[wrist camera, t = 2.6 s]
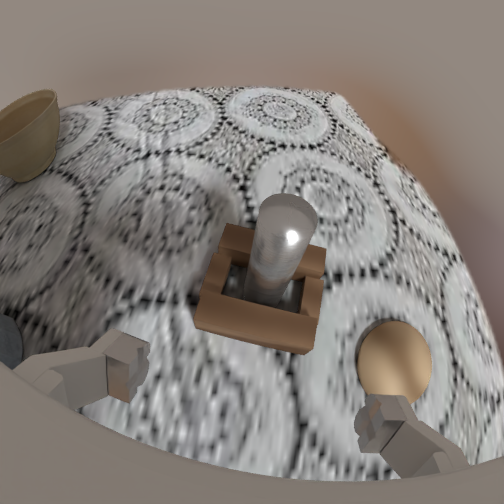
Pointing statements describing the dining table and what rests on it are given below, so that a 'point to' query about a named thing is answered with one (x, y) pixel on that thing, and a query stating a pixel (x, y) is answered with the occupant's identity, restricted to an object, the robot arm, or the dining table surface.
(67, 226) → the dining table surface
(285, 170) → the dining table surface
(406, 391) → the cork pad
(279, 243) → the grey rounded cylinder
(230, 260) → the cradle
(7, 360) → the moka pot
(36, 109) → the planter bowl
